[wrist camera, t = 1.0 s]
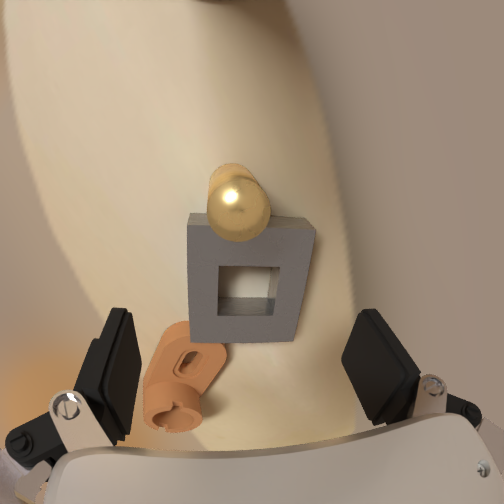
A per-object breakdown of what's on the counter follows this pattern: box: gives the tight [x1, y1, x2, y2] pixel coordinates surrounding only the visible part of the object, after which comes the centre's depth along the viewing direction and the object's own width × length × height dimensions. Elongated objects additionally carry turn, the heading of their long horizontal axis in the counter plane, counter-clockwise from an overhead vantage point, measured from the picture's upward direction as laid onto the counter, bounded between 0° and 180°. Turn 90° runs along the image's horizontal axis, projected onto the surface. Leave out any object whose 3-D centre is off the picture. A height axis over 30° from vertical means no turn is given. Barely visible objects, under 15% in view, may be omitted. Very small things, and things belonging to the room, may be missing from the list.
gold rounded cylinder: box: [207, 163, 271, 242], centre depth 23 cm, size 4×4×9 cm
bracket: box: [143, 321, 227, 433], centre depth 34 cm, size 18×8×7 cm, turn 151°
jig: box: [187, 213, 316, 343], centre depth 30 cm, size 14×12×4 cm
